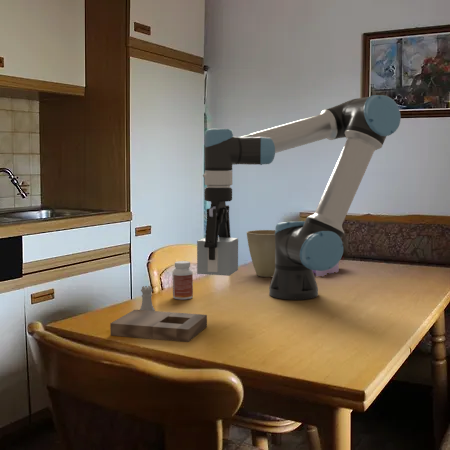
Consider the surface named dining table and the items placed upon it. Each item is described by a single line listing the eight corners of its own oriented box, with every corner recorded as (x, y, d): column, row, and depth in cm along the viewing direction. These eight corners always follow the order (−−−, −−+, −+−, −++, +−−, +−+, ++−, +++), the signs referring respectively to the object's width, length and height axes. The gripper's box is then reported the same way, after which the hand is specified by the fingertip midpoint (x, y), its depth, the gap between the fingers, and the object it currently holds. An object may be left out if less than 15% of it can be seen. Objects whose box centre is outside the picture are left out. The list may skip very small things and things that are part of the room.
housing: (237, 270, 174) (238, 238, 173) (229, 275, 166) (229, 242, 165) (207, 268, 177) (207, 236, 176) (197, 273, 168) (197, 240, 167)
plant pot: (295, 275, 227) (296, 231, 226) (268, 280, 217) (268, 235, 215) (265, 269, 238) (265, 228, 236) (238, 275, 228) (237, 231, 226)
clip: (328, 278, 223) (328, 259, 222) (295, 275, 228) (295, 256, 227) (343, 269, 241) (343, 251, 240) (312, 266, 246) (312, 249, 245)
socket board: (206, 326, 159) (206, 314, 158) (188, 341, 145) (188, 329, 145) (134, 320, 164) (134, 309, 164) (110, 335, 151) (110, 323, 151)
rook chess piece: (139, 313, 172) (138, 285, 171) (155, 313, 172) (155, 284, 171) (138, 317, 167) (137, 288, 166) (155, 317, 168) (154, 288, 167)
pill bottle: (196, 298, 190) (196, 262, 189) (179, 301, 187) (178, 264, 186) (186, 294, 195) (186, 259, 194) (169, 297, 192) (168, 261, 191)
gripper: (216, 184, 180) (216, 261, 182) (192, 188, 159) (192, 274, 162) (241, 185, 178) (241, 263, 180) (220, 188, 157) (220, 276, 160)
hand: (218, 268), depth 171 cm, fingers closed on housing, 9 cm apart
